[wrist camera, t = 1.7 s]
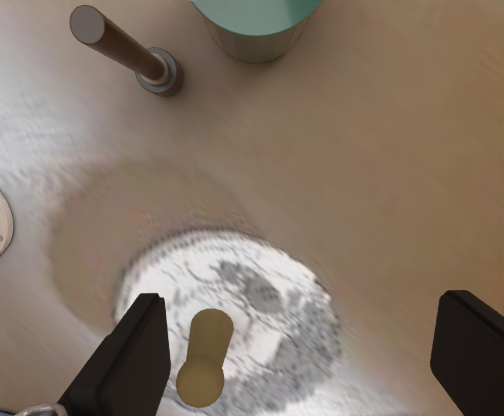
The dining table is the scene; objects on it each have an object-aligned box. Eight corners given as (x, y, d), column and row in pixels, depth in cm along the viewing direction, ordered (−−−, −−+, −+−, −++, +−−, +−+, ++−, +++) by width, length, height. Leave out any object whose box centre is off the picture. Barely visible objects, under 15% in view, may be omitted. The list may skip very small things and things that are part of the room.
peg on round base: (139, 85, 34) (41, 41, 18) (153, 47, 33) (64, -32, 17) (174, 103, 34) (107, 77, 19) (189, 67, 33) (133, 7, 18)
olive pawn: (214, 353, 42) (201, 427, 32) (181, 329, 41) (156, 396, 31) (242, 326, 41) (238, 393, 31) (209, 300, 40) (193, 359, 30)
